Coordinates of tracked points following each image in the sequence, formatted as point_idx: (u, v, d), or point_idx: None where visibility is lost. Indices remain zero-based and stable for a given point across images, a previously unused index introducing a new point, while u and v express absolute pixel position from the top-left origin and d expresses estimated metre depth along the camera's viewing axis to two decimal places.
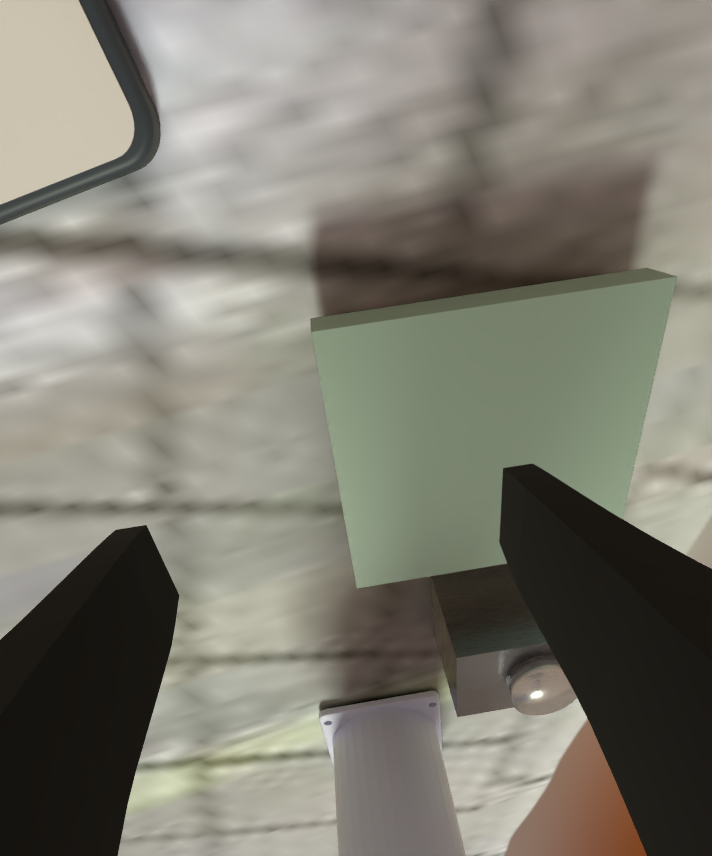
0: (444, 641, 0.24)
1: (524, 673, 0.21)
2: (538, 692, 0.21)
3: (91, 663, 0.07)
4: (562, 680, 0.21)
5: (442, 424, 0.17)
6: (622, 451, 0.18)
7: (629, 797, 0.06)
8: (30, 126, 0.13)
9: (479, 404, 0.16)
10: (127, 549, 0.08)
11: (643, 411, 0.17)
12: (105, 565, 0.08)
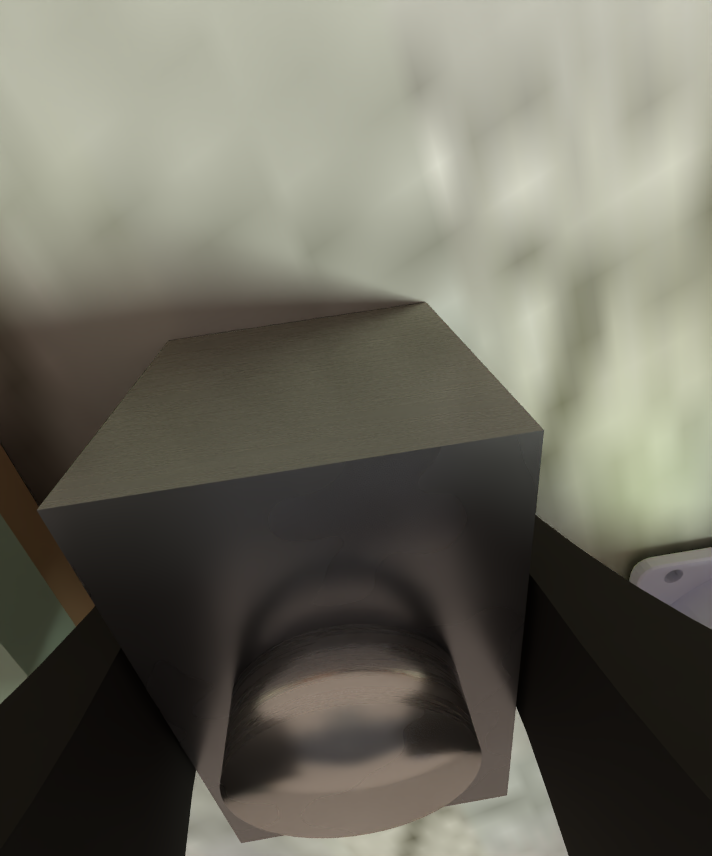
0: None
1: None
2: (325, 803, 0.06)
3: None
4: (254, 772, 0.05)
5: None
6: None
7: (558, 810, 0.06)
8: None
9: None
10: None
11: None
12: None
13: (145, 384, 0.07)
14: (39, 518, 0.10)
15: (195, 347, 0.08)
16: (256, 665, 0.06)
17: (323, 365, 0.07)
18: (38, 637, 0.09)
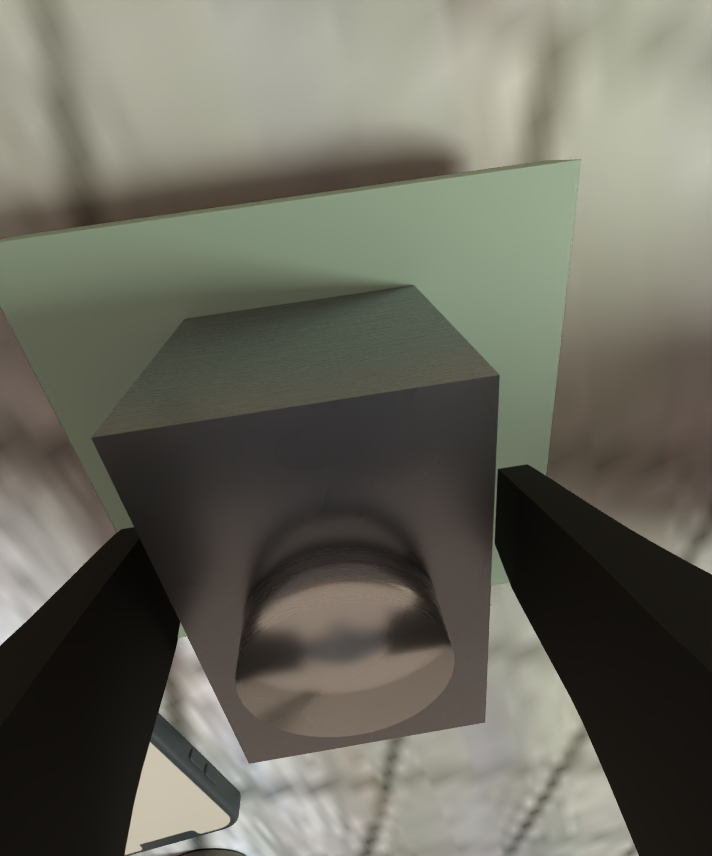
0: None
1: None
2: (323, 700, 0.07)
3: (98, 662, 0.07)
4: (264, 666, 0.06)
5: None
6: (322, 232, 0.09)
7: (622, 798, 0.06)
8: None
9: None
10: (133, 548, 0.08)
11: (230, 216, 0.09)
12: (111, 564, 0.08)
13: (168, 351, 0.08)
14: None
15: (209, 323, 0.09)
16: (265, 582, 0.07)
17: (321, 334, 0.08)
18: None
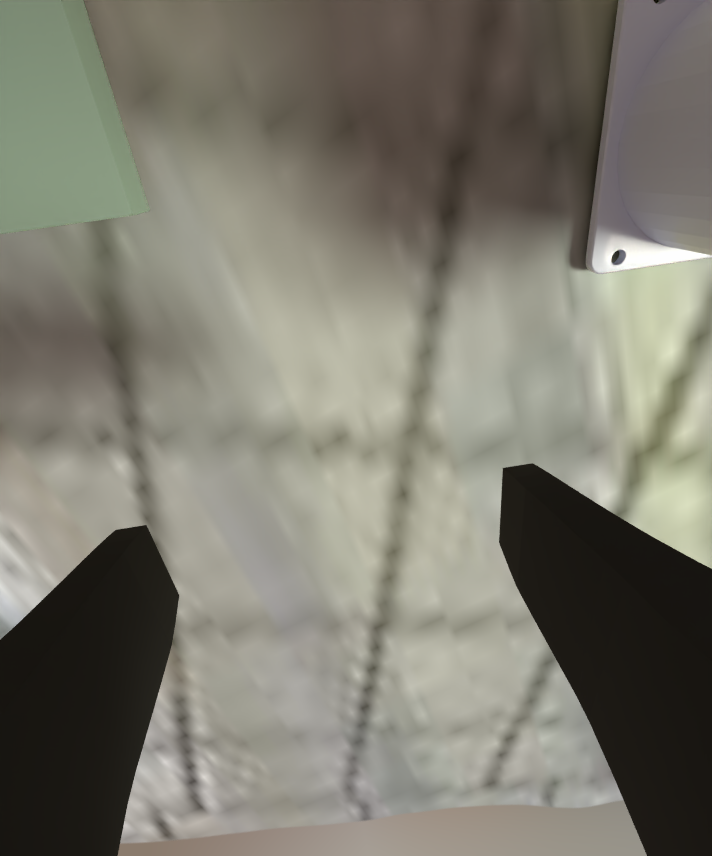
0: None
1: None
2: None
3: (91, 663, 0.07)
4: None
5: None
6: None
7: (629, 797, 0.06)
8: None
9: None
10: (127, 549, 0.08)
11: None
12: (105, 565, 0.08)
13: None
14: None
15: None
16: None
17: None
18: None
